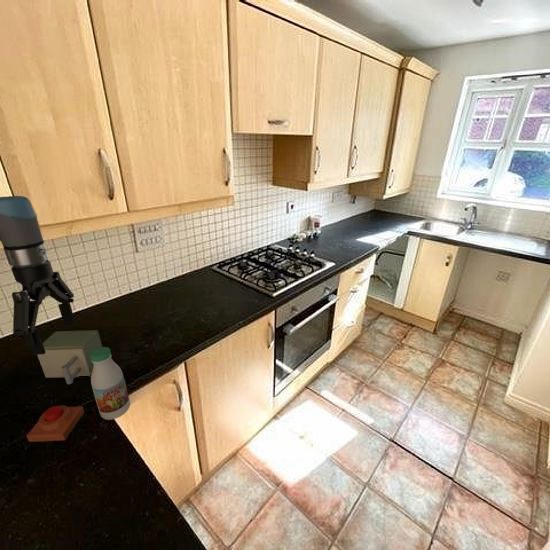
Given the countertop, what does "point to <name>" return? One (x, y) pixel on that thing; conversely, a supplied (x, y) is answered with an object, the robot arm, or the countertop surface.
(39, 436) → the button box
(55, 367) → the slide door
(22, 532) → the countertop surface
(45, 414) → the button
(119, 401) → the milk bottle
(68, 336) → the cupboard
